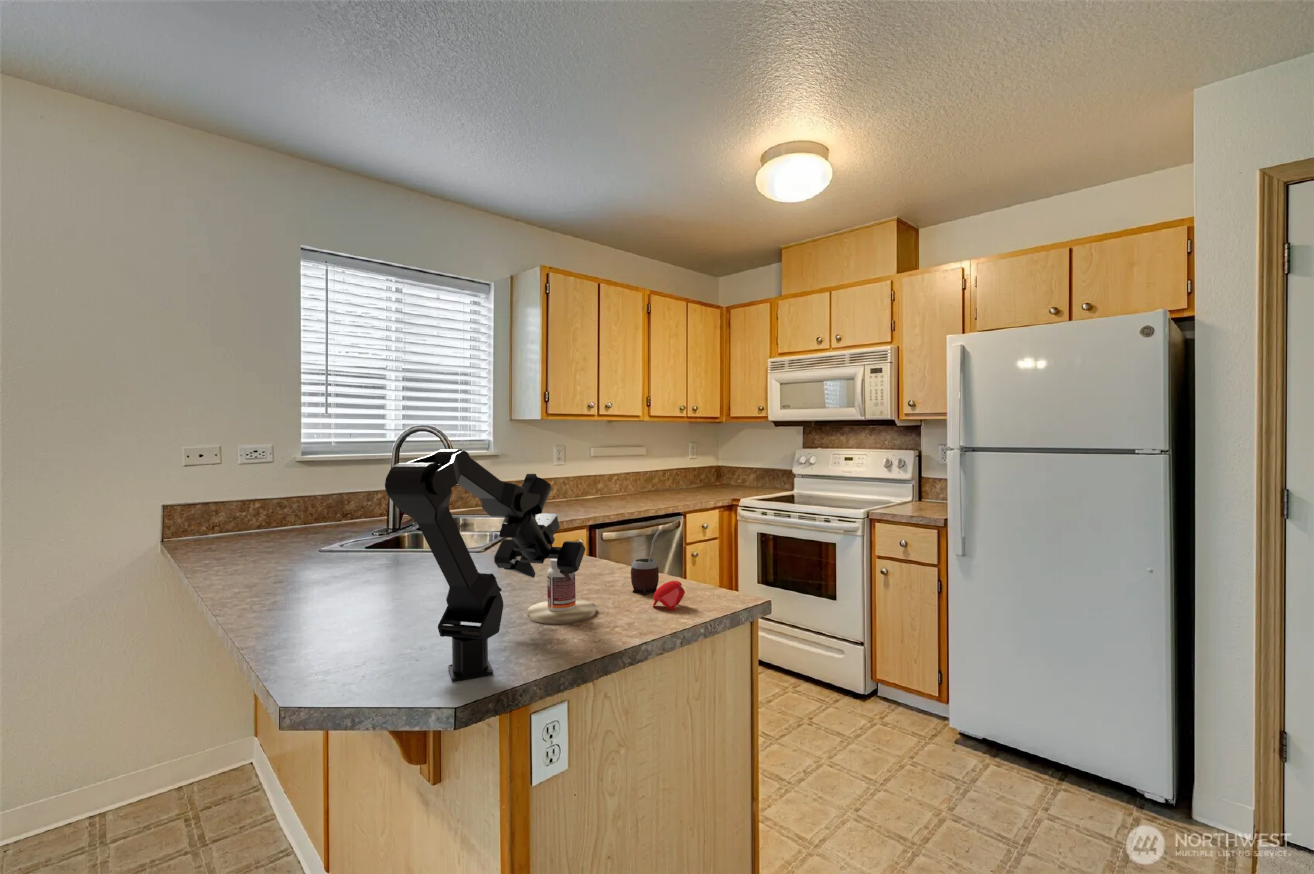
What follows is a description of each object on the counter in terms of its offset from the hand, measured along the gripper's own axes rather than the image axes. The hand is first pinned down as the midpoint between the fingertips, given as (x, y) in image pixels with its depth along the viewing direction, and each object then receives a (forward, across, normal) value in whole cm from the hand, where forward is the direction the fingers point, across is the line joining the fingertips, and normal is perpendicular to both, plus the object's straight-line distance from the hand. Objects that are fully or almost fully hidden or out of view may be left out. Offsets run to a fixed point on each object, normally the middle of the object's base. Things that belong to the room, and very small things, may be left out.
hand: (553, 577), depth 127 cm
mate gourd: (+25, -12, -12) cm, 30 cm away
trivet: (+9, 0, +3) cm, 10 cm away
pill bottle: (+8, 0, +3) cm, 9 cm away
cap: (+17, -22, -4) cm, 28 cm away
